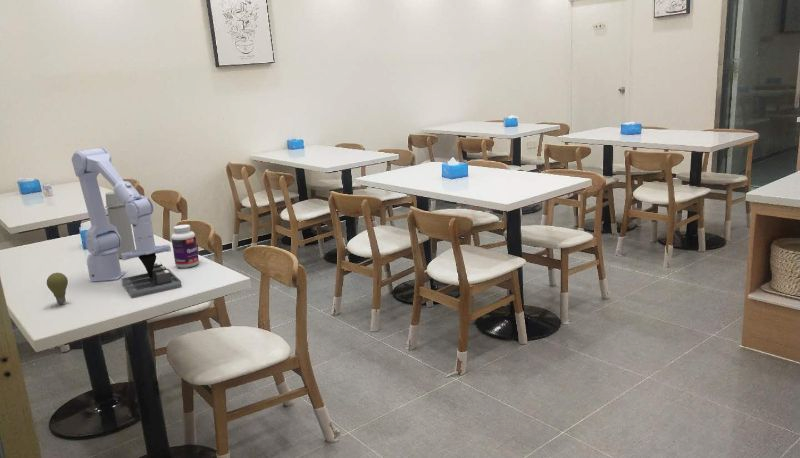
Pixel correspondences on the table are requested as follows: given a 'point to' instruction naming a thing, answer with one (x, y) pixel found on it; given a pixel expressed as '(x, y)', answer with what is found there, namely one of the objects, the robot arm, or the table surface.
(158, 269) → the block
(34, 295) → the table surface
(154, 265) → the breaker far
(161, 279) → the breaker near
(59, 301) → the light bulb
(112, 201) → the water bottle
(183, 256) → the pill bottle
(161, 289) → the panel
